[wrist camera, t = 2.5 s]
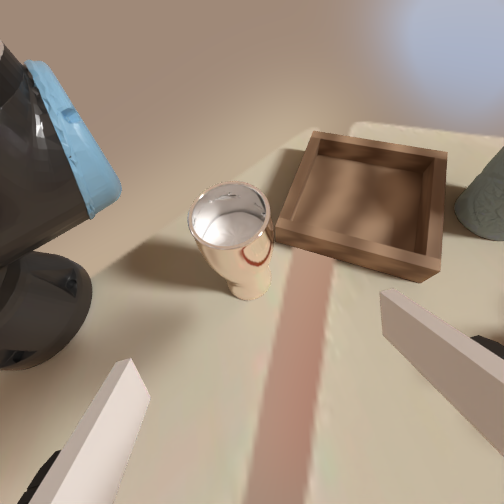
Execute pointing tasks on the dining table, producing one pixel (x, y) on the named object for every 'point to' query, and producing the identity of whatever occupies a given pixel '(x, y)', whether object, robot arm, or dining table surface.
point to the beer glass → (235, 235)
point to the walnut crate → (368, 205)
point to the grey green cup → (485, 201)
